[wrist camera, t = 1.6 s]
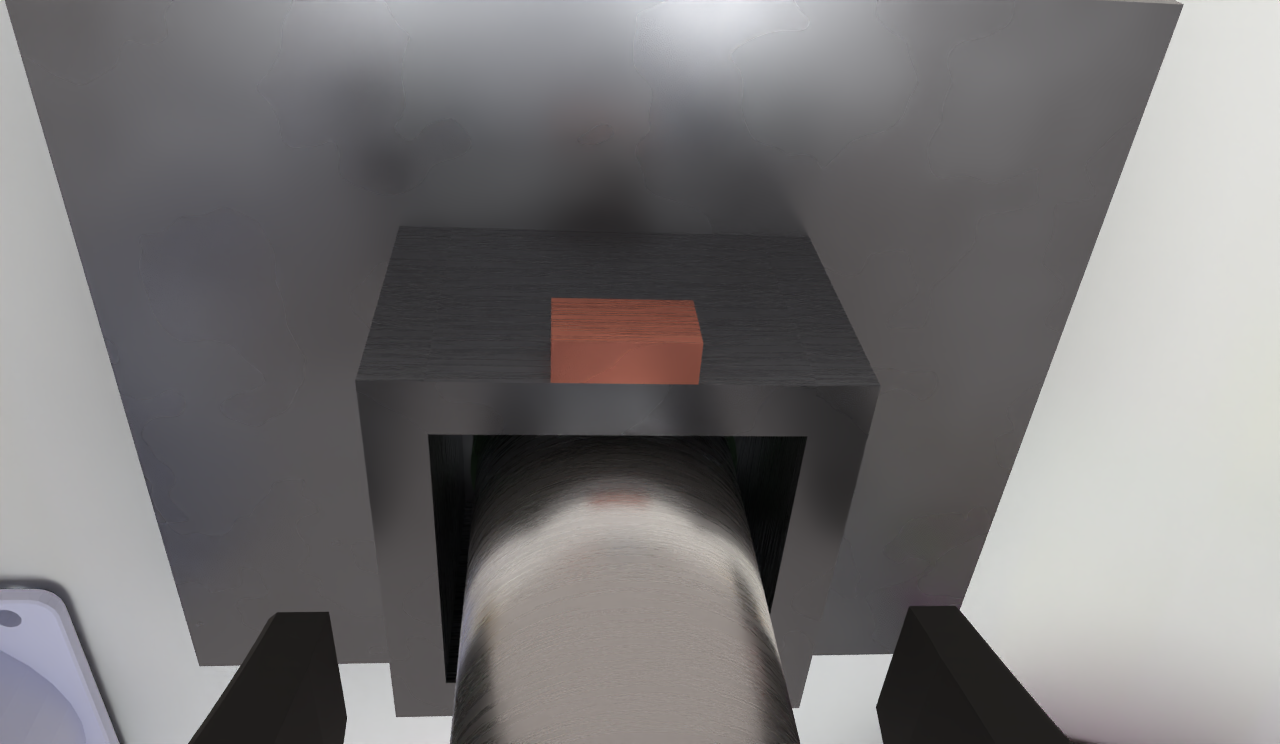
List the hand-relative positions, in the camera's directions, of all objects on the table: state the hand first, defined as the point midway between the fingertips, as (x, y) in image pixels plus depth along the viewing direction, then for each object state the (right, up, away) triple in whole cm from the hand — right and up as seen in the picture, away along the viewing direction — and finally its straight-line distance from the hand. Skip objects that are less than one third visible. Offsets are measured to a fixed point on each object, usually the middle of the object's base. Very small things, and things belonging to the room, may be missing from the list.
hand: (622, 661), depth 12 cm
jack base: (-1, +4, +6) cm, 7 cm away
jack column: (0, +3, +5) cm, 6 cm away
